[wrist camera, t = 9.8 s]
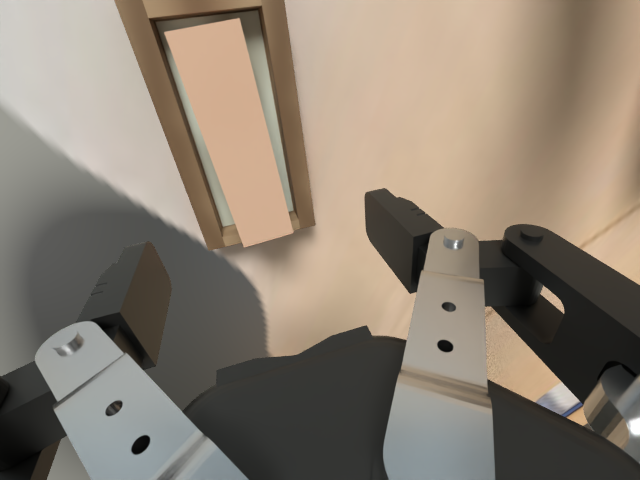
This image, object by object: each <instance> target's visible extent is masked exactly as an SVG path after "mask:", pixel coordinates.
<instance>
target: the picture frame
mask: <svg viewBox="0 0 640 480" xmlns="http://www.w3.org/2000/svg"><path fill="white" fill-rule="evenodd" d="M114 1H115V3H116V6H117V9H118V11H119V14H120V17H121V19H122V22H123V24H124V27H125V30H126V32H127V35H128V38H129V40H130V43H131V46H132V48H133V51H134V54H135V56H136V59H137V62H138V64H139V67H140V70H141V72H142V75H143V78H144V80H145V83H146V85H147V88H148V91H149V93H150V96H151V99H152V101H153V104H154V107H155V109H156V112H157V115H158V117H159V120H160V123H161V125H162V128H163V131H164V133H165V136H166V139H167V141H168V144H169V146H170V149H171V152H172V154H173V157H174V160H175V162H176V165H177V168H178V170H179V173H180V176H181V178H182V181H183V184H184V186H185V189H186V192H187V194H188V197H189V200H190V202H191V205H192V208H193V210H194V213H195V215H196V218H197V221H198V223H199V226H200V229H201V231H202V234H203V237H204V239H205V242H206V245H207V247H208V250H214V249H218V248H222V247H226V246H230V245H234V244H239V243H242V241H241V238H240V236H239V233H238V230H237V228H236V225H235V222H234V219H233V217H232V214H231V211H230V209H229V206H228V203H227V201H226V198H225V195H224V193H223V190H222V187H221V184H220V182H219V179H218V176H217V174H216V171H215V168H214V166H213V163H212V160H211V157H210V155H209V152H208V149H207V147H206V144H205V141H204V139H203V136H202V133H201V131H200V128H199V125H198V122H197V120H196V117H195V114H194V112H193V109H192V106H191V104H190V101H189V98H188V96H187V93H186V90H185V87H184V85H183V82H182V79H181V77H180V74H179V71H178V69H177V66H176V63H175V61H174V58H173V55H172V52H171V50H170V47H169V44H168V42H167V39H166V36H165V34H164V32H167V31H172V30H178V29H183V28H188V27H194V26H199V25H205V24H210V23H215V22H221V21H226V20H231V19H237V18H240V22H241V26H242V30H243V34H244V38H245V42H246V46H247V50H248V54H249V58H250V62H251V66H252V69H253V73H254V77H255V81H256V85H257V89H258V93H259V97H260V101H261V105H262V109H263V113H264V117H265V121H266V125H267V129H268V133H269V137H270V141H271V145H272V149H273V153H274V157H275V161H276V165H277V169H278V173H279V177H280V181H281V185H282V188H283V192H284V196H285V200H286V204H287V208H288V212H289V216H290V220H291V224H292V228H293V230H297V229H301V228H305V227H310V226H314V225H315V219H314V212H313V205H312V198H311V190H310V183H309V176H308V169H307V161H306V154H305V147H304V140H303V133H302V125H301V118H300V111H299V104H298V96H297V89H296V82H295V75H294V67H293V60H292V53H291V46H290V38H289V31H288V24H287V17H286V10H285V2H284V0H114Z"/></svg>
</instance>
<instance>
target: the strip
mask: <svg viewBox="0 0 640 480" xmlns="http://www.w3.org/2000/svg"><path fill="white" fill-rule="evenodd" d="M164 34H165V36H166V39H167V42H168V44H169V47H170V50H171V52H172V55H173V58H174V61H175V63H176V66H177V69H178V71H179V74H180V77H181V79H182V82H183V85H184V87H185V90H186V93H187V96H188V98H189V101H190V104H191V106H192V109H193V112H194V114H195V117H196V120H197V122H198V125H199V128H200V131H201V133H202V136H203V139H204V141H205V144H206V147H207V149H208V152H209V155H210V157H211V160H212V163H213V166H214V168H215V171H216V174H217V176H218V179H219V182H220V184H221V187H222V190H223V193H224V195H225V198H226V201H227V203H228V206H229V209H230V211H231V214H232V217H233V219H234V222H235V225H236V228H237V230H238V233H239V236H240V238H241V241H242V244H243V246H244V247H248V246H251V245H255V244H258V243H262V242H265V241H268V240H272V239H275V238H279V237H282V236H286V235H289V234H292V233H294V232H293V228H292V224H291V220H290V216H289V212H288V208H287V204H286V200H285V196H284V192H283V188H282V185H281V181H280V177H279V173H278V169H277V165H276V161H275V157H274V153H273V149H272V145H271V141H270V137H269V133H268V129H267V125H266V121H265V117H264V113H263V109H262V105H261V101H260V97H259V93H258V89H257V85H256V81H255V77H254V73H253V69H252V66H251V62H250V58H249V54H248V50H247V46H246V42H245V38H244V34H243V30H242V26H241V22H240V18H237V19H231V20H226V21H221V22H215V23H210V24H205V25H199V26H194V27H188V28H183V29H178V30H172V31H167V32H164Z"/></svg>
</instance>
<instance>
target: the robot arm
mask: <svg viewBox="0 0 640 480" xmlns="http://www.w3.org/2000/svg"><path fill="white" fill-rule="evenodd" d="M365 221H366V232H367V235H368V238H369V240H370V242H371V243H372V245H373V246H374V247H375V249H376V250H377V251H378V252H379V254H380V255H381V256H382V258H383V259H384V260H385V262H386V263H387V264H388V266H389V267H390V268H391V269H392V271H393V272H394V273H395V275H396V276H397V277H398V279H399V280H400V281H401V283H402V284H403V285H404V287H405V288H406V289H407V290H408V292H409V293H410V294H411V293H414V292H417V294H416V299H415V304H414V309H413V314H412V318H411V323H410V328H409V333H408V338H407V340H404V339H400V338H396V337H389V336H372V335H371V333H370V331H369V329H368V327H367V325H366V326H362V327H359V328H356V329H352V330H349V331H346V332H342V333H339V334H336V335H332V336H330V337H329V338H327V339H325V340H323V341H321V342H320V343H318V344H316V345H314V346H313V347H311V348H309V349H307V350H305V351H304V352H302V353H300V354H298V355H294V356H282V357H269V358H257V359H252V360H249V361H246V362H243V363H239V364H236V365H232V366H229V367H226V368H222V369H219V370H217V379H216V381H217V382H216V384H215V385H213V386H212V387H210V388H209V389H207V390H206V391H204V392H203V393H201V394H200V395H199V396H198V397H196V399H194V400H193V401H192V402H191V403H190V404H189V405H188V406H187V407H186V408H185V409H184V410H183V411H181V410H180V409H179V408H178V407H177V406H176V405H175V404H174V403H173V402H172V401H171V400H170V399H169V397H168V396H167V395H166V394H165V393H164V392H163V391H162V390H161V389H160V388H159V387H158V386H157V385H156V384H155V383H154V381H152V379H151V378H150V377H149V376H148V375H147V374H146V373H145V372H144V371H143V370H144V369H148V368H151V367H155V366H156V364H157V359H158V354H159V350H160V345H161V340H162V335H163V329H164V325H165V321H166V316H167V311H168V306H169V301H170V296H171V290H172V288H171V281H170V278H169V275H168V273H167V271H166V269H165V267H164V266H163V263H162V261H161V259H160V257H159V255H158V253H157V252H156V249H155V247H154V246H153V244H152V243H151V242H144V243H139V244H135V245H131V246H127V247H125V248H124V250H123V252H122V254H121V256H120V258H119V260H118V262H117V263H115V264H112V265H111V266H110V267H109V268H108V269H107V270H106V271H105V272H104V273H103V274H102V275H101V276H100V278H99V280H98V282H97V284H96V287H95V288H94V289H93V291H92V293H91V296H90V297H89V299H88V301H87V303H86V304H85V306H84V308H83V310H82V312H81V314H80V316H79V318H78V320H77V321H76V323H75V324H73V325H70V326H68V327H66V328H64V329H62V330H60V331H58V332H57V333H55V334H54V335H53V336H51V337H50V338H49V339H48V340H47V341H45V342H44V344H43V345H42V346H41V347H40V348H39V350H38V351H37V353H36V356H35V361H33V362H31V363H29V364H27V365H25V366H23V367H21V368H18V369H16V370H14V371H12V372H10V373H8V374H6V375H3V376H0V480H47V477H48V474H49V471H50V469H51V466H52V463H53V460H54V457H55V454H56V451H57V449H58V446H59V443H60V440H61V439H62V438H64V437H65V436H68V437H69V439H70V441H71V443H72V445H73V447H74V448H75V450H76V452H77V454H78V456H79V458H80V460H81V462H82V463H83V465H84V467H85V469H86V471H87V473H88V474H89V476H90V478H91V480H640V285H638V284H637V283H635V282H634V281H632V280H630V279H629V278H627V277H625V276H624V275H622V274H620V273H619V272H617V271H616V270H614V269H612V268H611V267H609V266H607V265H606V264H604V263H602V262H601V261H599V260H598V259H596V258H594V257H593V256H591V255H589V254H588V253H586V252H584V251H583V250H581V249H580V248H578V247H576V246H575V245H573V244H571V243H570V242H568V241H566V240H565V239H563V238H562V237H560V236H558V235H557V234H555V233H553V232H552V231H550V230H548V229H545V228H543V227H540V226H535V225H528V224H518V225H513V226H510V227H508V228H507V229H506V230H505V233H504V237H503V240H492V241H478V239H477V237H476V236H475V235H473V234H472V233H470V232H468V231H465V230H462V229H457V228H444V227H442V226H441V225H440V224H439V223H437V222H436V221H435V220H434V219H432V218H431V217H430V216H429V215H428V214H425V212H424V211H423V210H421V209H419V207H418V206H416V205H415V204H414V203H413V202H412V201H409V200H406V199H404V198H401V197H398V198H396V197H395V196H394V195H393V194H391V193H390V192H389V191H388V190H387V189H385V188H383V189H378V190H374V191H370V192H366V194H365ZM543 285H544V286H545V287H546V288H547V289H549V290H550V291H551V292H552V293H554V294H555V295H556V296H557V297H558V298H559V299H560V300H561V302H562V304H563V306H564V311H565V313H564V314H563V313H562V312H561V311H560V310H558V309H557V308H556V307H555V306H554V305H553V304H551V303H550V302H549V301H548V300H547V299H545V298H544V297H543V296H542V295H541V294H540V293H541V290H542V287H543ZM485 306H491V307H492V308H493V309H494V310H495V311H496V312H497V313H498V314H499V315H500V316H501V317H502V319H503V320H504V321H505V322H506V323H507V324H508V325H509V326H510V327H511V328H512V329H513V330H514V331H515V332H516V333H517V334H518V336H519V337H520V338H521V339H522V340H523V341H524V342H525V343H526V344H527V345H528V346H529V347H530V348H531V349H532V350H533V352H534V353H535V354H536V355H537V356H538V357H539V358H540V359H541V360H542V361H543V362H544V363H545V364H546V365H547V366H548V368H549V369H550V370H551V371H552V372H553V373H554V374H555V375H556V376H557V377H558V378H559V379H560V380H561V381H562V382H563V384H564V385H565V386H566V387H567V388H568V389H569V390H570V391H571V392H572V393H573V394H574V395H575V396H576V397H577V398H578V399H579V401H580V402H581V403H582V404H583V405H584V407H583V410H584V415H585V417H586V420H587V422H588V423H589V425H590V426H591V428H592V429H593V431H592V430H590V429H588V428H585V427H584V426H582V425H580V424H578V423H576V422H574V421H571V420H569V419H567V418H565V417H563V416H561V415H559V414H557V413H555V412H553V411H551V410H549V409H547V408H545V407H543V406H541V405H539V404H537V403H535V402H533V401H531V400H529V399H527V398H525V397H523V396H521V395H519V394H517V393H515V392H512V391H510V390H508V389H506V388H504V387H502V386H500V385H498V384H496V383H494V382H492V381H490V380H488V379H487V356H486V327H485Z"/></svg>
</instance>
